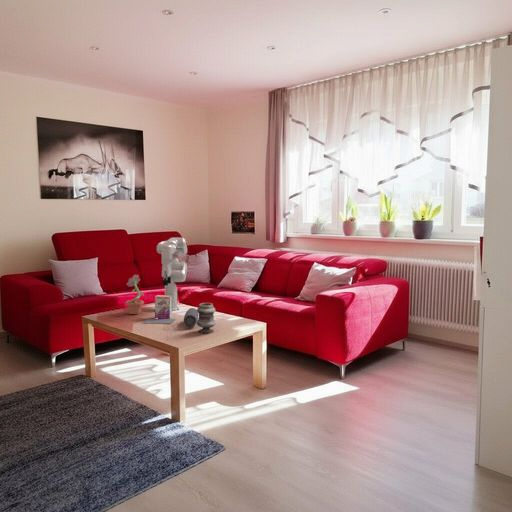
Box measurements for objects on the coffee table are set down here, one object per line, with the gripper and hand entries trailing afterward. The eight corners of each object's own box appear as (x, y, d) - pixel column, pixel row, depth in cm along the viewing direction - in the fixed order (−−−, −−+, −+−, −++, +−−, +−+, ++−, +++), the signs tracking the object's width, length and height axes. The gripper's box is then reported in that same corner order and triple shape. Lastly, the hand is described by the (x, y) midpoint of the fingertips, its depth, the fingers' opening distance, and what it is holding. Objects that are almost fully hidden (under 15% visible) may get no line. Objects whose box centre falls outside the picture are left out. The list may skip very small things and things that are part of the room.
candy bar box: (154, 318, 327) (154, 296, 325) (157, 317, 332) (156, 295, 330) (169, 319, 326) (169, 296, 324) (171, 317, 331) (171, 295, 329)
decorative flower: (137, 311, 353) (136, 272, 350) (148, 313, 345) (148, 274, 342) (121, 314, 341) (120, 274, 338) (133, 316, 333) (132, 276, 330)
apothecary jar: (195, 333, 286) (195, 305, 285) (198, 328, 298) (198, 302, 297) (214, 334, 286) (214, 305, 284) (216, 329, 298) (216, 302, 296)
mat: (148, 318, 326) (148, 318, 326) (176, 319, 325) (176, 318, 325) (142, 323, 312) (142, 322, 312) (171, 324, 311) (171, 323, 311)
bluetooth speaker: (197, 328, 299) (197, 314, 298) (183, 329, 298) (182, 314, 297) (199, 321, 321) (199, 307, 320) (185, 321, 320) (185, 307, 320)
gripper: (164, 260, 346) (165, 282, 347) (158, 262, 328) (159, 286, 330) (174, 260, 345) (174, 282, 347) (169, 262, 328) (169, 286, 330)
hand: (167, 284), depth 339 cm, fingers open, 8 cm apart
